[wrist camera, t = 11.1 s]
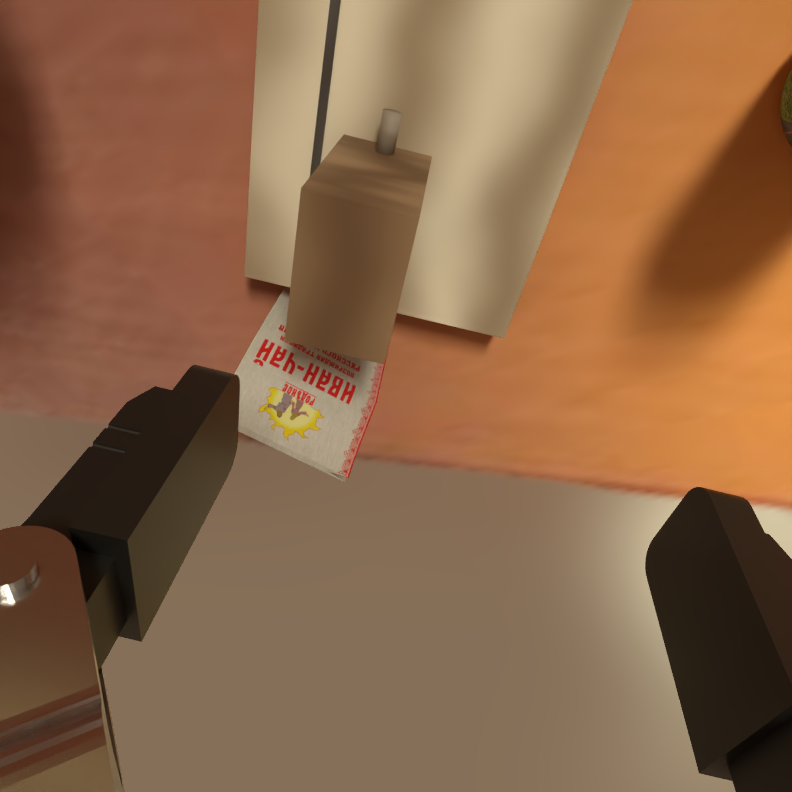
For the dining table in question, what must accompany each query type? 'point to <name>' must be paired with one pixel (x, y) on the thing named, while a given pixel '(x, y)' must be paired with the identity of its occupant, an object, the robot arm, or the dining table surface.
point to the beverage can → (787, 108)
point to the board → (431, 129)
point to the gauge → (355, 244)
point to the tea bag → (305, 397)
